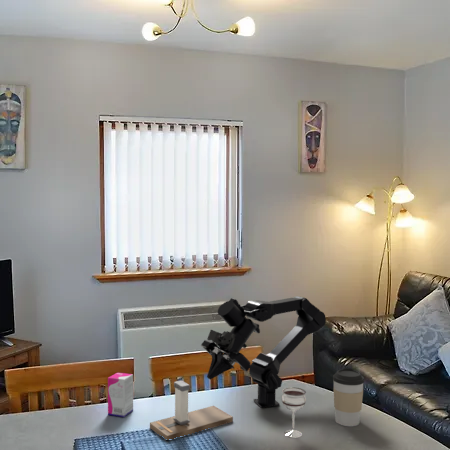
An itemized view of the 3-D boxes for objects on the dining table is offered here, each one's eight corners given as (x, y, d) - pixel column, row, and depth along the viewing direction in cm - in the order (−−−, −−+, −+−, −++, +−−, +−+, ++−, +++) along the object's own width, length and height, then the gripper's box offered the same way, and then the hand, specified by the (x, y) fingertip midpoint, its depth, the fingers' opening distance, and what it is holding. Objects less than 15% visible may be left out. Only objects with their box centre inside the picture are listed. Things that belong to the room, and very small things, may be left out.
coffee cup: (363, 429, 154) (365, 377, 153) (331, 426, 155) (332, 375, 155) (362, 416, 162) (363, 367, 162) (331, 413, 164) (332, 365, 163)
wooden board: (213, 410, 166) (213, 405, 166) (232, 421, 158) (232, 416, 158) (149, 427, 153) (149, 422, 153) (167, 441, 145) (167, 435, 145)
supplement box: (133, 410, 165) (133, 373, 165) (124, 418, 160) (124, 380, 159) (117, 407, 167) (117, 371, 166) (107, 415, 162) (107, 377, 161)
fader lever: (182, 417, 156) (182, 380, 155) (190, 422, 152) (190, 384, 152) (173, 419, 154) (173, 382, 154) (180, 425, 151) (181, 386, 150)
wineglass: (308, 431, 152) (309, 389, 151) (301, 441, 146) (302, 397, 145) (285, 426, 155) (286, 385, 154) (277, 436, 149) (278, 393, 148)
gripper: (206, 313, 168) (175, 354, 162) (242, 326, 152) (210, 371, 147) (226, 335, 173) (197, 375, 167) (263, 349, 157) (233, 394, 152)
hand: (208, 378), depth 158 cm, fingers closed
